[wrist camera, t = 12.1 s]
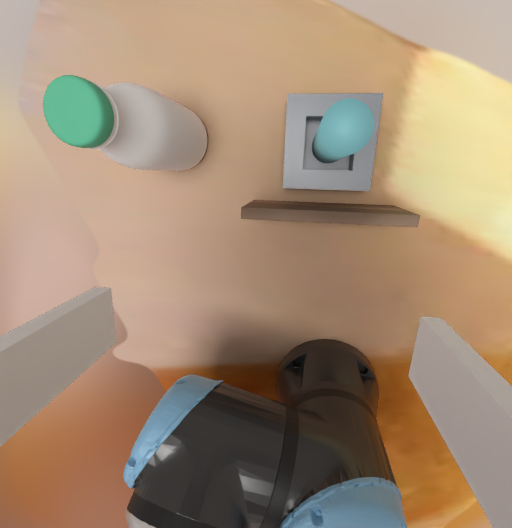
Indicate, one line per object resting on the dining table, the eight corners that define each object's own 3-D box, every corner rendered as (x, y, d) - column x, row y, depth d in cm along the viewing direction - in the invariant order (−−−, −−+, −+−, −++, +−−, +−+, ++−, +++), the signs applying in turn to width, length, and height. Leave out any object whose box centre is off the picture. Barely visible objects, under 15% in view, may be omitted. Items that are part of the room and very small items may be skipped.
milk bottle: (199, 100, 38) (98, 28, 19) (215, 162, 40) (138, 154, 21) (145, 117, 39) (1, 66, 20) (163, 176, 41) (46, 180, 22)
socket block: (363, 189, 38) (369, 191, 34) (284, 186, 39) (282, 188, 36) (374, 101, 35) (383, 93, 31) (288, 101, 36) (287, 93, 33)
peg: (343, 163, 37) (370, 155, 23) (310, 163, 37) (318, 154, 24) (347, 127, 35) (377, 97, 22) (312, 127, 36) (322, 98, 23)
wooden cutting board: (392, 215, 39) (417, 227, 30) (253, 208, 41) (241, 218, 32) (393, 205, 38) (420, 215, 30) (254, 200, 40) (241, 207, 32)
